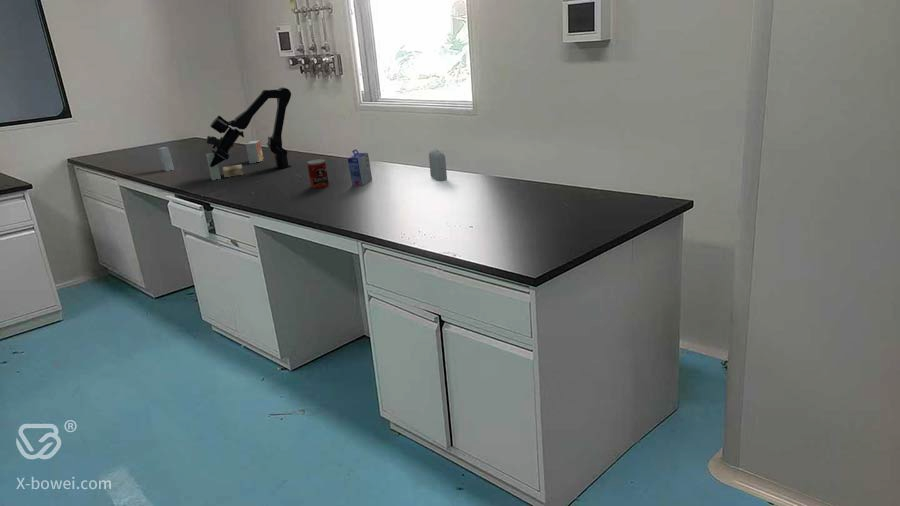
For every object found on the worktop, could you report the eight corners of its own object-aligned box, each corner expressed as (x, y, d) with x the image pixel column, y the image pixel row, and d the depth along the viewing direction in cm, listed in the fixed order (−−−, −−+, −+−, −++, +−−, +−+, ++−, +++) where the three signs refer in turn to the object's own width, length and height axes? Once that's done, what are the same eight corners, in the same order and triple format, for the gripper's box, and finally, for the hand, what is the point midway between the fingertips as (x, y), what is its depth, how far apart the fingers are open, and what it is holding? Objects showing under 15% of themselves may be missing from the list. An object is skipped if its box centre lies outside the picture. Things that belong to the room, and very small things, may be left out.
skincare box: (174, 170, 335) (169, 147, 330) (166, 171, 332) (160, 149, 328) (171, 168, 339) (165, 146, 335) (162, 170, 337) (157, 148, 332)
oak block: (243, 172, 316) (241, 164, 315) (243, 175, 308) (242, 167, 307) (224, 175, 314) (222, 167, 312) (224, 178, 306) (223, 170, 304)
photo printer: (448, 180, 264) (446, 150, 260) (439, 181, 263) (436, 152, 258) (438, 175, 273) (435, 147, 269) (429, 177, 272) (426, 148, 267)
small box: (259, 162, 334) (255, 143, 330) (249, 163, 334) (245, 144, 330) (264, 159, 341) (260, 140, 337) (253, 160, 341) (250, 141, 338)
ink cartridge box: (361, 180, 278) (356, 147, 273) (372, 180, 276) (368, 147, 271) (351, 186, 269) (346, 152, 264) (362, 186, 267) (358, 152, 262)
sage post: (219, 177, 308) (214, 152, 304) (221, 178, 304) (215, 154, 300) (211, 178, 307) (205, 154, 303) (212, 180, 303) (206, 155, 298)
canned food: (314, 189, 269) (309, 164, 265) (309, 186, 275) (304, 161, 271) (331, 186, 272) (327, 161, 268) (325, 182, 278) (322, 158, 275)
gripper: (212, 127, 307) (193, 153, 307) (216, 131, 291) (196, 159, 291) (232, 140, 312) (213, 166, 312) (237, 145, 296) (218, 172, 296)
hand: (210, 165), depth 303 cm, fingers closed on sage post, 5 cm apart
